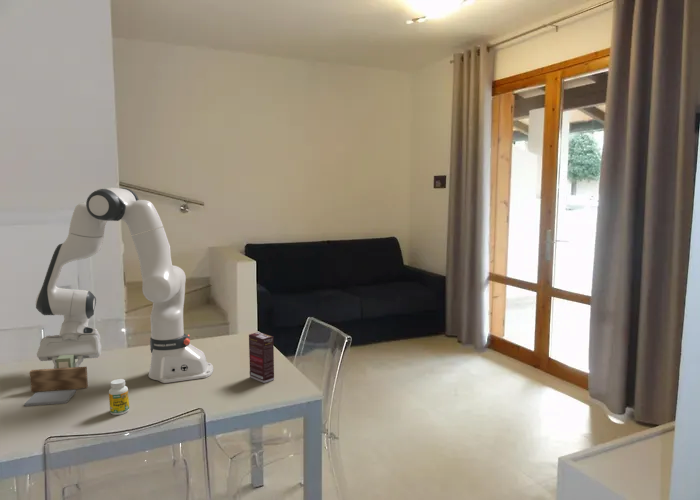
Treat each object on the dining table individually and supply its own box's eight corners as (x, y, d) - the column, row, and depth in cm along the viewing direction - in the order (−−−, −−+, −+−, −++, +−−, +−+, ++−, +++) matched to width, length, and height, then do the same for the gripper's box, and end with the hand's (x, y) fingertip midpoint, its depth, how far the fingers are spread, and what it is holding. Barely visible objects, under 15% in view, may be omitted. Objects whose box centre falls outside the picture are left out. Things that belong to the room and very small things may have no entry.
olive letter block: (76, 378, 182) (74, 354, 181) (71, 383, 178) (70, 358, 177) (62, 379, 181) (60, 354, 180) (57, 384, 177) (55, 359, 176)
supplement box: (275, 379, 181) (274, 336, 179) (264, 383, 178) (263, 339, 176) (260, 373, 187) (259, 331, 185) (249, 377, 184) (248, 334, 182)
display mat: (75, 391, 171) (75, 389, 170) (66, 403, 162) (66, 400, 162) (36, 394, 168) (36, 392, 168) (24, 406, 160) (24, 403, 159)
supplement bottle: (127, 406, 160) (125, 376, 158) (131, 412, 155) (129, 382, 154) (108, 410, 157) (106, 380, 155) (111, 417, 152) (109, 386, 151)
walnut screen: (88, 386, 175) (86, 366, 174) (86, 388, 174) (85, 368, 173) (33, 390, 172) (31, 369, 171) (31, 391, 171) (29, 371, 170)
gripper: (39, 331, 182) (29, 367, 174) (100, 328, 186) (94, 364, 178) (44, 340, 187) (36, 375, 179) (105, 337, 191) (99, 371, 183)
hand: (65, 369), depth 179 cm, fingers closed on olive letter block, 4 cm apart
